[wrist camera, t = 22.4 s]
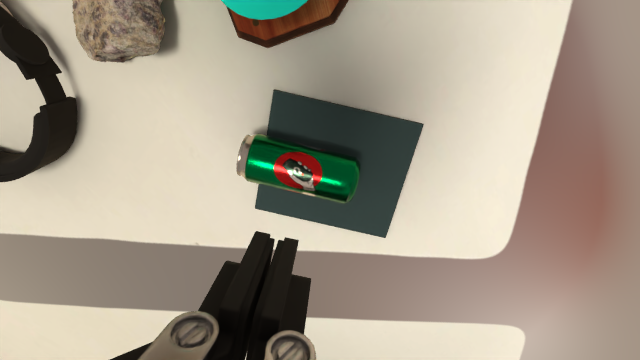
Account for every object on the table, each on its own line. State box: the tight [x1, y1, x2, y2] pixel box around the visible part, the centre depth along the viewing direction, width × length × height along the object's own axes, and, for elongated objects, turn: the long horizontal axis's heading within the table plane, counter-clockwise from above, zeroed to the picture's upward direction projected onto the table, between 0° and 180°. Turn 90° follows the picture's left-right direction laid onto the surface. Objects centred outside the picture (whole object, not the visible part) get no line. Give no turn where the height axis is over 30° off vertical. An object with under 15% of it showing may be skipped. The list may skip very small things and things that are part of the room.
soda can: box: [237, 134, 361, 204], centre depth 33 cm, size 5×5×12 cm
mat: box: [255, 90, 423, 238], centre depth 36 cm, size 14×16×1 cm
